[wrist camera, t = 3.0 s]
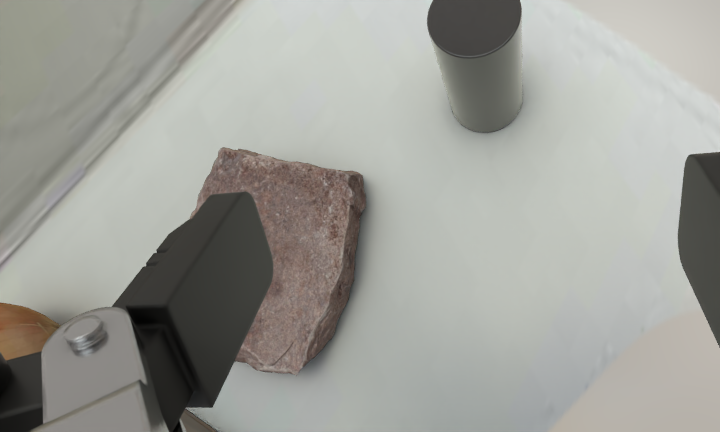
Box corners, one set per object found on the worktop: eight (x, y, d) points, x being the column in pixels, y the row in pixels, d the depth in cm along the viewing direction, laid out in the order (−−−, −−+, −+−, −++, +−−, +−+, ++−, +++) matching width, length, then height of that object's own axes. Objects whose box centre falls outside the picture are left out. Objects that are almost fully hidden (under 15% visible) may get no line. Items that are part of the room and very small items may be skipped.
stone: (332, 386, 33) (301, 390, 28) (193, 345, 35) (145, 343, 31) (382, 181, 34) (361, 155, 30) (247, 157, 37) (209, 130, 33)
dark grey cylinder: (534, 82, 33) (538, -11, 25) (502, 143, 33) (494, 70, 25) (470, 58, 35) (453, -38, 26) (438, 117, 34) (410, 39, 26)
